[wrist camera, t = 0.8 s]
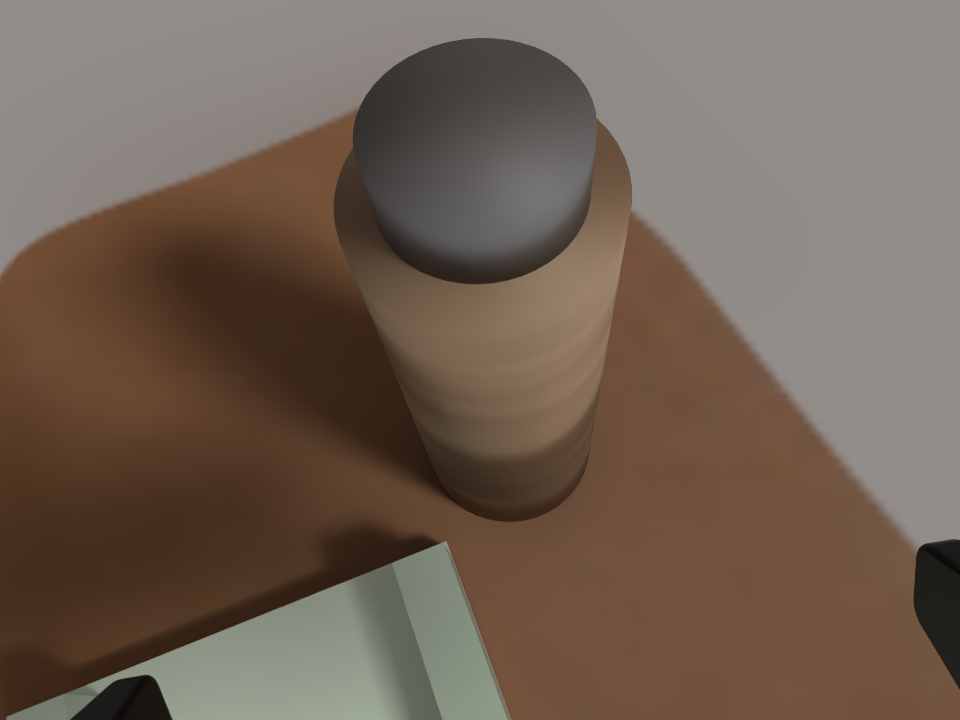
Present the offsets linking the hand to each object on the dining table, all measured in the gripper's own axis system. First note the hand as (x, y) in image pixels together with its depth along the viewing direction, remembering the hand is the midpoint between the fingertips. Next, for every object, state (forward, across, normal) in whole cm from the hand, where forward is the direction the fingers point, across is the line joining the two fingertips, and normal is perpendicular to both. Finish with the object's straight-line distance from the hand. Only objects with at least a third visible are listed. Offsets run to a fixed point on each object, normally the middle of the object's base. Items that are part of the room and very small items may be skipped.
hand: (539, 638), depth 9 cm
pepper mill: (+15, 0, +5) cm, 16 cm away
